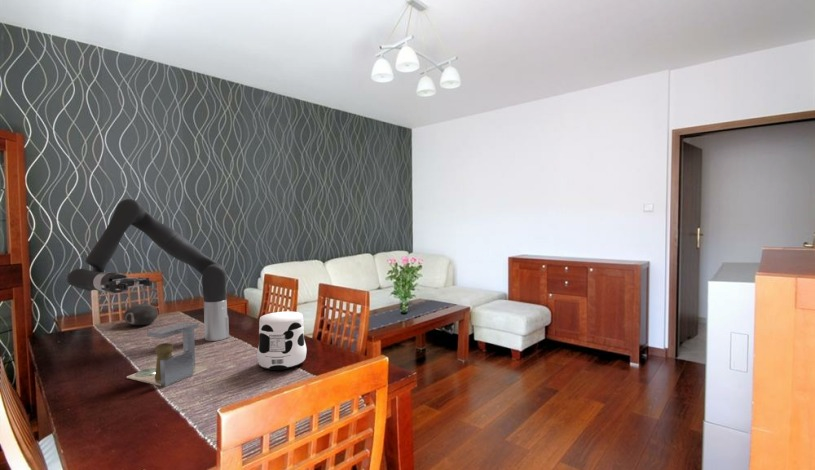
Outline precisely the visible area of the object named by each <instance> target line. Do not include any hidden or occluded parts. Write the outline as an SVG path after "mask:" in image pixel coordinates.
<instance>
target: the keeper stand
mask: <svg viewBox="0 0 815 470" xmlns="http://www.w3.org/2000/svg"><path fill="white" fill-rule="evenodd" d="M198 328H199V322H198V323H197V322H191V321H181V322H178V323H174V324H169V325H166V326H163V327H158V328H155V329H152V330H149V331H147V333H146V334H147V335H146V336H147V337H151V338H157V339H165V338H168V337H171V336H175V335H178V334H182V345H183V347H182V349H183V352H179V353H176V354H174V355H173V354H172V356H170V357H168V358H165V359H162V360H160V371H161V380H156V379H155V372H156V365H154V366H152V367H148V368H145V369H142V370H139V371H137V372H136V373H133V374H129V375H127V376H126V379H130V380H133V381H138V382H142V383H145V384H146V383H147V384H151V385H155V386H159V387H163V388H166V387H169V386H171V385H174V384H176V383H178V382H180V381H182V380H185V379H188V378H191V377H192V376H195V375H198V374H200V373H202V372H204V371H206V370H207V367H201V366H199V365H198V366H197V365H196V348H195V345H196V344H195V329H198Z"/></svg>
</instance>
